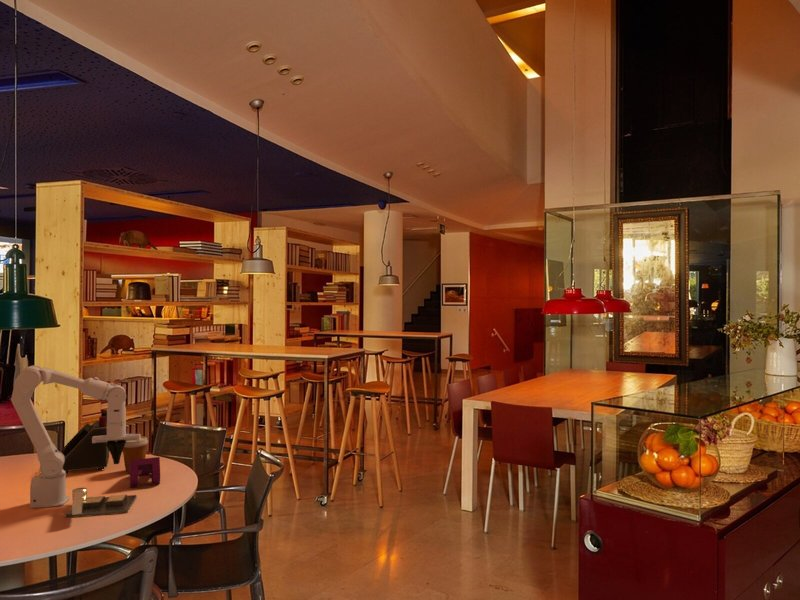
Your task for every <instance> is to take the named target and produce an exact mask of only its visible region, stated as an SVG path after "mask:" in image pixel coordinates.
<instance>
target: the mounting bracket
mask: <svg viewBox="0 0 800 600" xmlns="http://www.w3.org/2000/svg"><path fill="white" fill-rule="evenodd" d="M160 458H161V457H160V456H154V457H145V459H136V460H130V464H129V473H128V475H129V486H130V488H135V487H137V486H138V487H139V476H143V474H145V475H150V476H151V477H150V478H151V479H150V480H151V485H153V484H154V485H160V484H161V461H160Z"/></svg>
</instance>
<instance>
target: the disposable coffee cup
mask: <svg viewBox="0 0 800 600" xmlns="http://www.w3.org/2000/svg"><path fill="white" fill-rule="evenodd" d="M148 443H149V440H148V437H146V436H141V440H140V441H126V444H125V446H124V448H123V451H122V454H123V461H124V469H125V470H124V471H125V473H126V472H127V474H129V464H130V460H136V459H145V458H146V455H147V447H148V446H147V445H148Z"/></svg>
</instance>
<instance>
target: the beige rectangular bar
mask: <svg viewBox="0 0 800 600" xmlns="http://www.w3.org/2000/svg"><path fill="white" fill-rule="evenodd" d="M71 493H72V504H71V505H72V506H71V508H72V515H75V514H82V509H83V503H84V500H86V499H87V498H88V488H87V487H76V488H74V489H72V492H71Z"/></svg>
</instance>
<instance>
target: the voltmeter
mask: <svg viewBox="0 0 800 600" xmlns="http://www.w3.org/2000/svg"><path fill="white" fill-rule="evenodd" d="M102 435H107V411H101V413H100V416H99V420H95V421H94V422H93V423H92V424H89V423H88V422H87V423H85V425H84V426H82V427H81V429H79V431H78V432H76V434H74V436H73V437H72V438H71V439H70V440H69V441H68V442H67V443H66V444H65V446H64V447H63V448H62V449H61V450H60V452H61V453H62V454H63V455H64V457H65V462H64V464H63V470H64V471H65V472H66V473H67V474H69V473H70V471H77V470H78V471H79V470H89V469H90V470H91V469H97V471H103V470H102V469H104V470H105V468H107V467H108V463H109V459H110V451H109V449H108V448H107V442H98V443H92V437H93V436H102ZM68 472H69V473H68Z"/></svg>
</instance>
